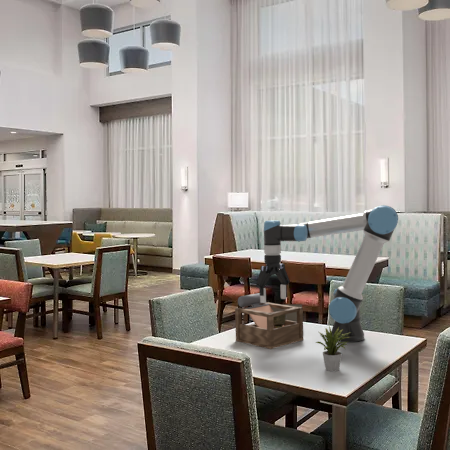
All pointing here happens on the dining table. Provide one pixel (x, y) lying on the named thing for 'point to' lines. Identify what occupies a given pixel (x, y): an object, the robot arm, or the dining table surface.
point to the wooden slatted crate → (270, 328)
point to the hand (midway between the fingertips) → (273, 300)
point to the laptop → (291, 315)
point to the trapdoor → (256, 308)
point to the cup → (279, 320)
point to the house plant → (332, 349)
